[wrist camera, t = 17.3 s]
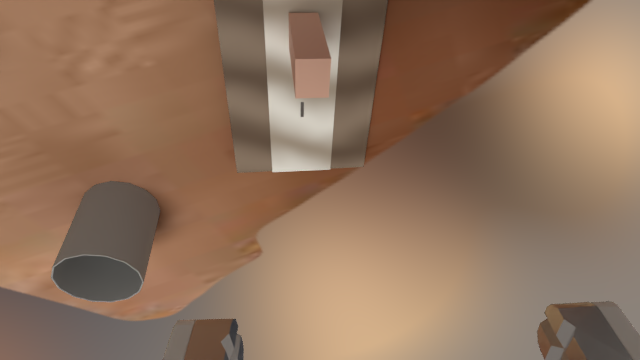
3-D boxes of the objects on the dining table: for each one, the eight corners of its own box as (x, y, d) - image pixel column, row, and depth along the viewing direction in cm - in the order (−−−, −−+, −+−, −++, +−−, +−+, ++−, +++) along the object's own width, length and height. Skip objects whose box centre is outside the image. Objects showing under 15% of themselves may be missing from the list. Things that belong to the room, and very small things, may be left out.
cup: (139, 174, 45) (116, 247, 38) (171, 221, 51) (157, 292, 43) (67, 190, 45) (31, 265, 38) (107, 235, 51) (82, 308, 44)
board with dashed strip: (208, -60, 30) (206, -54, 29) (390, -58, 32) (396, -51, 31) (237, 163, 45) (237, 174, 44) (360, 158, 47) (364, 168, 46)
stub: (288, 12, 33) (295, 59, 27) (318, 12, 33) (331, 58, 27) (288, 48, 35) (295, 98, 29) (316, 47, 35) (328, 97, 29)
